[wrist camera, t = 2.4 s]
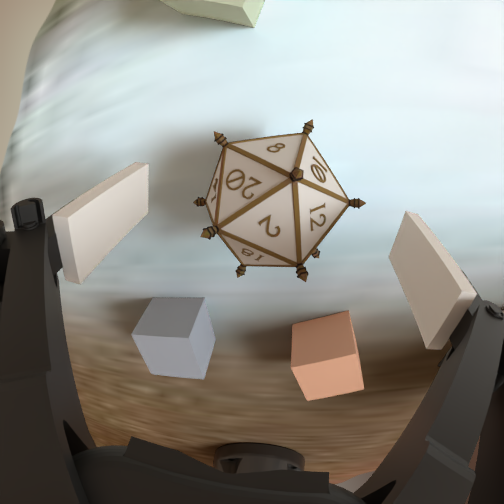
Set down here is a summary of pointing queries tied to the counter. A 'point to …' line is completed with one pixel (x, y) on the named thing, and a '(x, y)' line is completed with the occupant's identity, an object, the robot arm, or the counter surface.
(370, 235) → the counter surface
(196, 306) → the slate cube
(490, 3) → the counter surface
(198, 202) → the game die
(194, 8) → the sage cube
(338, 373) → the terracotta cube
